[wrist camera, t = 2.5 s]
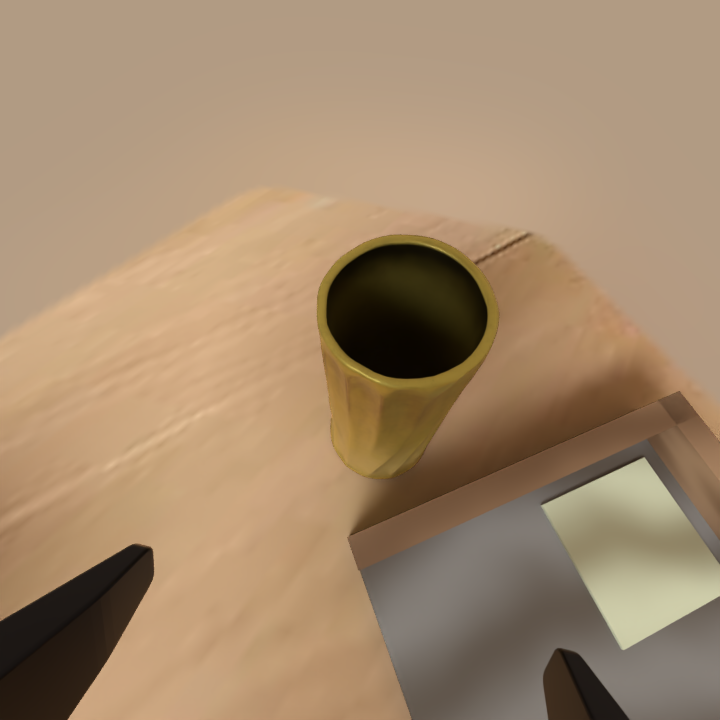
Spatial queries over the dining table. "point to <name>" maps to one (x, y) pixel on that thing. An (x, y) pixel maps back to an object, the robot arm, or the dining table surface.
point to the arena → (561, 576)
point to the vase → (399, 346)
